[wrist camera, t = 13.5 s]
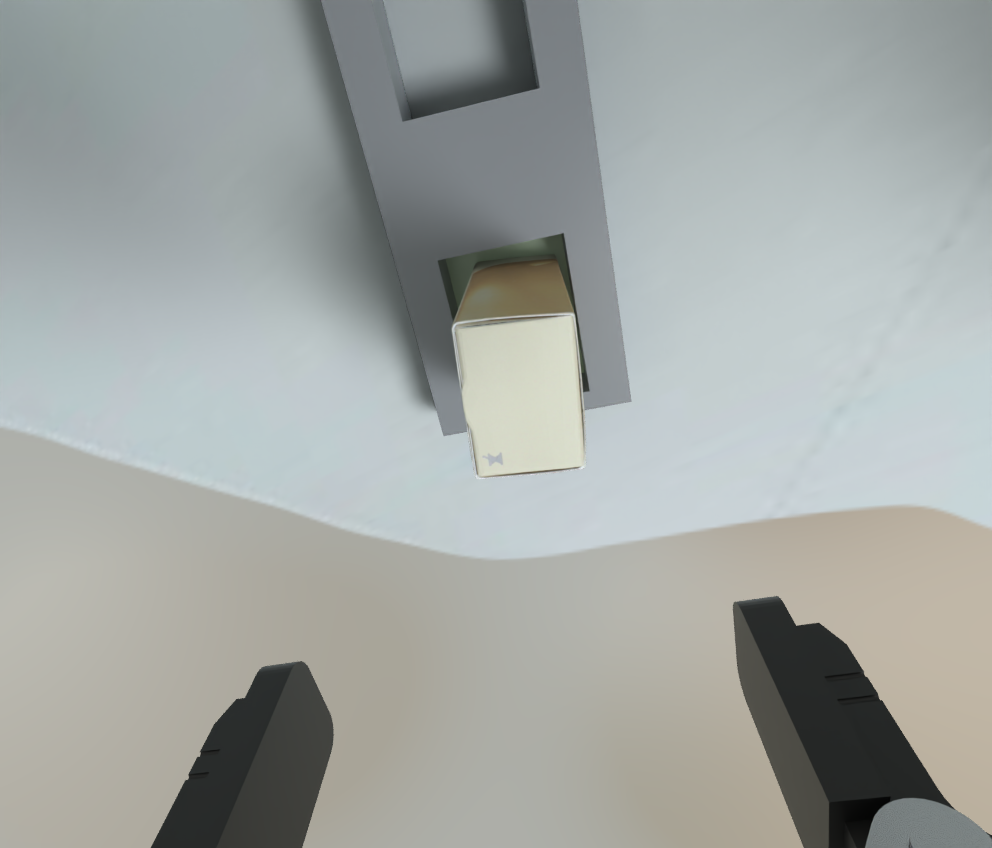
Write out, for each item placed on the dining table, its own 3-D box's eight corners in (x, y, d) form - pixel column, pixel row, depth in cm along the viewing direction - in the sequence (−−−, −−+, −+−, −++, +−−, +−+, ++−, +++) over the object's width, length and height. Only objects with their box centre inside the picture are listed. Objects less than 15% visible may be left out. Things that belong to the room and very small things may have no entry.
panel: (545, -171, 25) (549, -208, 22) (622, 380, 35) (631, 401, 32) (308, -102, 26) (284, -128, 23) (449, 412, 36) (443, 435, 33)
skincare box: (565, 364, 34) (590, 478, 23) (487, 373, 34) (474, 489, 23) (556, 245, 31) (579, 310, 20) (471, 255, 32) (448, 324, 21)
